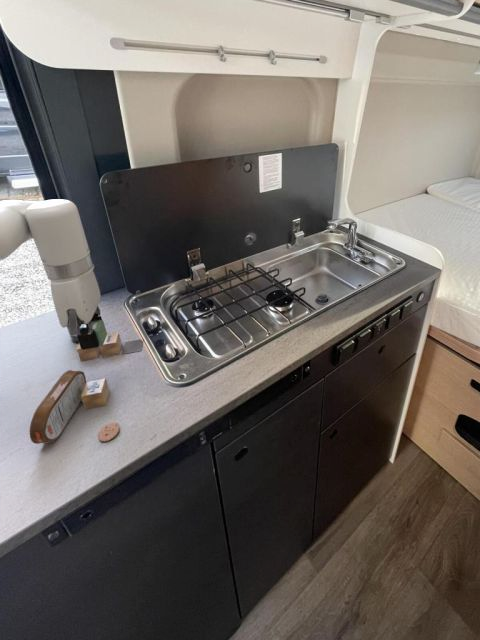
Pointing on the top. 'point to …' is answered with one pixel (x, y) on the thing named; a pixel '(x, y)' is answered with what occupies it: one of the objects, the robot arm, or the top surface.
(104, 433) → the cookie
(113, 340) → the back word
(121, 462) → the top surface
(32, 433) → the tin
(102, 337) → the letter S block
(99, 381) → the front word
